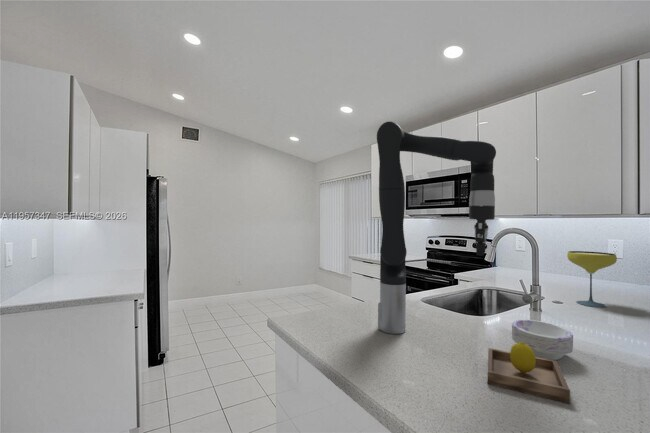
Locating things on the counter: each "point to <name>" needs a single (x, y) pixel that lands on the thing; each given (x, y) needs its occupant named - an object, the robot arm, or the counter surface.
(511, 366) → the walnut tray
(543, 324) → the paper bowls
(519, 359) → the lemon
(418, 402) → the counter surface
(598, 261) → the cocktail glass
